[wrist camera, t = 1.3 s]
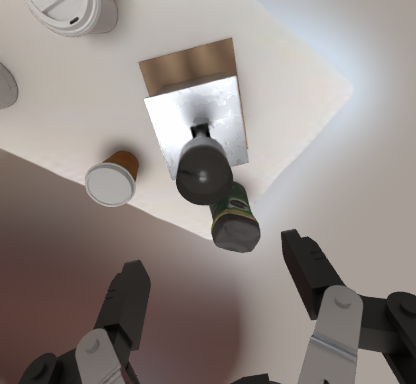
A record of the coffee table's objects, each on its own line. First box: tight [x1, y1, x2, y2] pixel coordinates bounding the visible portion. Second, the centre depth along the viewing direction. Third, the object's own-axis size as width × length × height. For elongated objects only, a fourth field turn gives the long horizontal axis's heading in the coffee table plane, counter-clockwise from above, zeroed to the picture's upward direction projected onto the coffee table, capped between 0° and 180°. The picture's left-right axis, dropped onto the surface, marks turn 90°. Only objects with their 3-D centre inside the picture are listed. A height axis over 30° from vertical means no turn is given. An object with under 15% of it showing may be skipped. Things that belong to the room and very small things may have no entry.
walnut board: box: [139, 38, 248, 149], centre depth 48 cm, size 18×22×1 cm
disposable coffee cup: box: [85, 151, 139, 207], centre depth 49 cm, size 10×10×12 cm
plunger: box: [176, 123, 233, 205], centre depth 29 cm, size 8×8×20 cm
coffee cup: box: [24, 0, 118, 37], centre depth 33 cm, size 10×10×15 cm
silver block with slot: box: [144, 72, 249, 180], centre depth 41 cm, size 12×15×18 cm
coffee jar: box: [209, 182, 260, 253], centre depth 52 cm, size 10×8×19 cm
